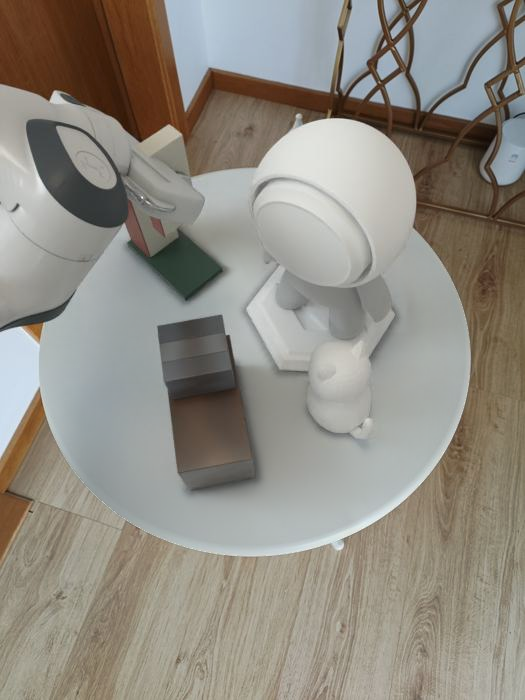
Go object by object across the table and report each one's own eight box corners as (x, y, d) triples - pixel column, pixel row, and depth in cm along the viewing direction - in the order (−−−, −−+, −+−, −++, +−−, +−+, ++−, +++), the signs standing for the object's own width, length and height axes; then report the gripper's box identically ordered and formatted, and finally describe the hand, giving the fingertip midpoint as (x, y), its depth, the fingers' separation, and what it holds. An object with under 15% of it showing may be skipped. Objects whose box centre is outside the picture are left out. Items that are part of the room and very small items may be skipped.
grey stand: (189, 490, 72) (168, 460, 57) (174, 376, 79) (152, 324, 65) (255, 477, 72) (250, 444, 58) (234, 365, 80) (225, 311, 65)
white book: (164, 237, 74) (141, 161, 62) (153, 227, 75) (128, 150, 62) (198, 213, 76) (182, 134, 63) (186, 203, 77) (169, 123, 64)
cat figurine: (338, 361, 80) (351, 311, 66) (392, 428, 75) (418, 389, 61) (288, 393, 78) (291, 347, 64) (340, 464, 73) (355, 431, 59)
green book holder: (185, 301, 85) (168, 242, 71) (127, 246, 90) (101, 182, 76) (223, 271, 87) (213, 209, 74) (164, 219, 92) (145, 152, 78)
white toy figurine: (225, 337, 82) (193, 168, 50) (304, 235, 90) (319, 34, 58) (338, 405, 77) (382, 264, 45) (411, 290, 85) (492, 102, 53)
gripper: (163, 181, 52) (241, 195, 64) (46, 81, 59) (137, 111, 71) (137, 235, 55) (217, 240, 67) (29, 134, 62) (119, 154, 74)
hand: (175, 173), depth 69 cm, fingers closed on white book, 2 cm apart
